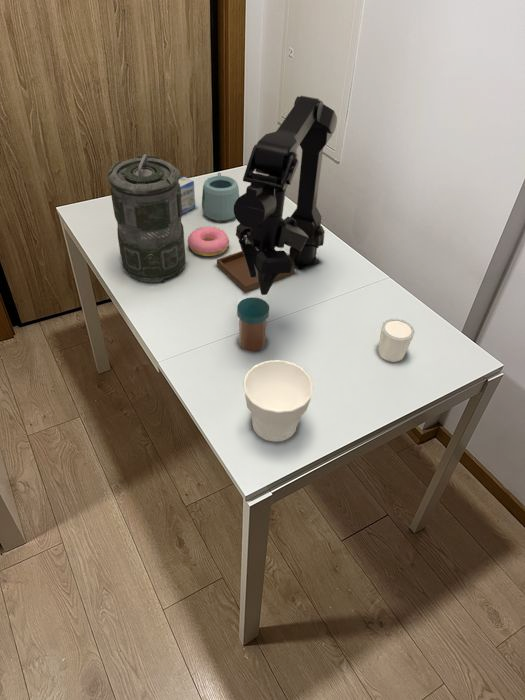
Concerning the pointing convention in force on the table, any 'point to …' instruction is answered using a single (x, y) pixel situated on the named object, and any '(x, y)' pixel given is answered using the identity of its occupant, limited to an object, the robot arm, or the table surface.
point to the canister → (148, 217)
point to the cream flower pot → (277, 398)
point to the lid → (253, 310)
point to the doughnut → (208, 241)
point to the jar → (252, 336)
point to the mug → (219, 197)
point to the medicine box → (187, 194)
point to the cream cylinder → (395, 339)
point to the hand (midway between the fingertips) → (258, 285)
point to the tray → (242, 271)
